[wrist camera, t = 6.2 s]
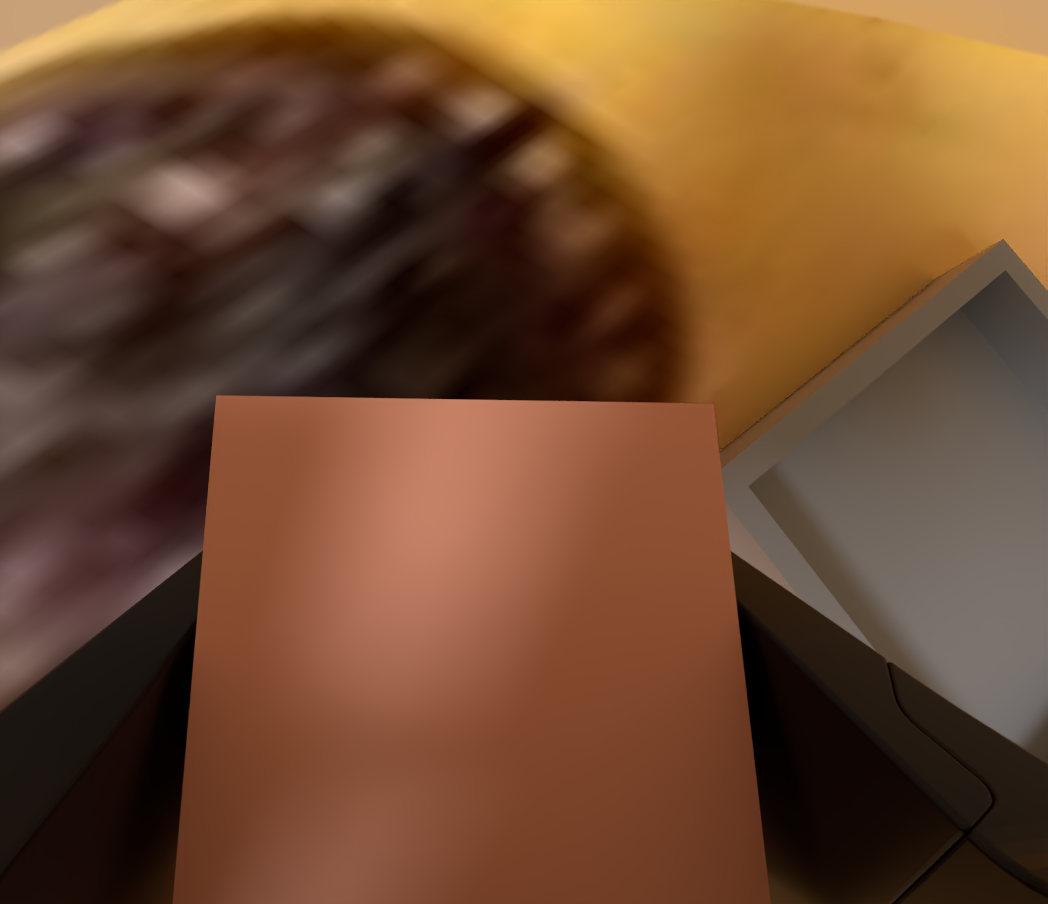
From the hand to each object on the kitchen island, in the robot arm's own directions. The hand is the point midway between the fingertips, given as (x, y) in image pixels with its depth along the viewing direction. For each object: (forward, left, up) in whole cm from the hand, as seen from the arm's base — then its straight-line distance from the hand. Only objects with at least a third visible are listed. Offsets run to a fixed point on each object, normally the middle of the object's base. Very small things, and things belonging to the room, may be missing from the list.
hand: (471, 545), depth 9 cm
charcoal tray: (-9, -13, -7) cm, 18 cm away
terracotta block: (-1, +1, -7) cm, 7 cm away
